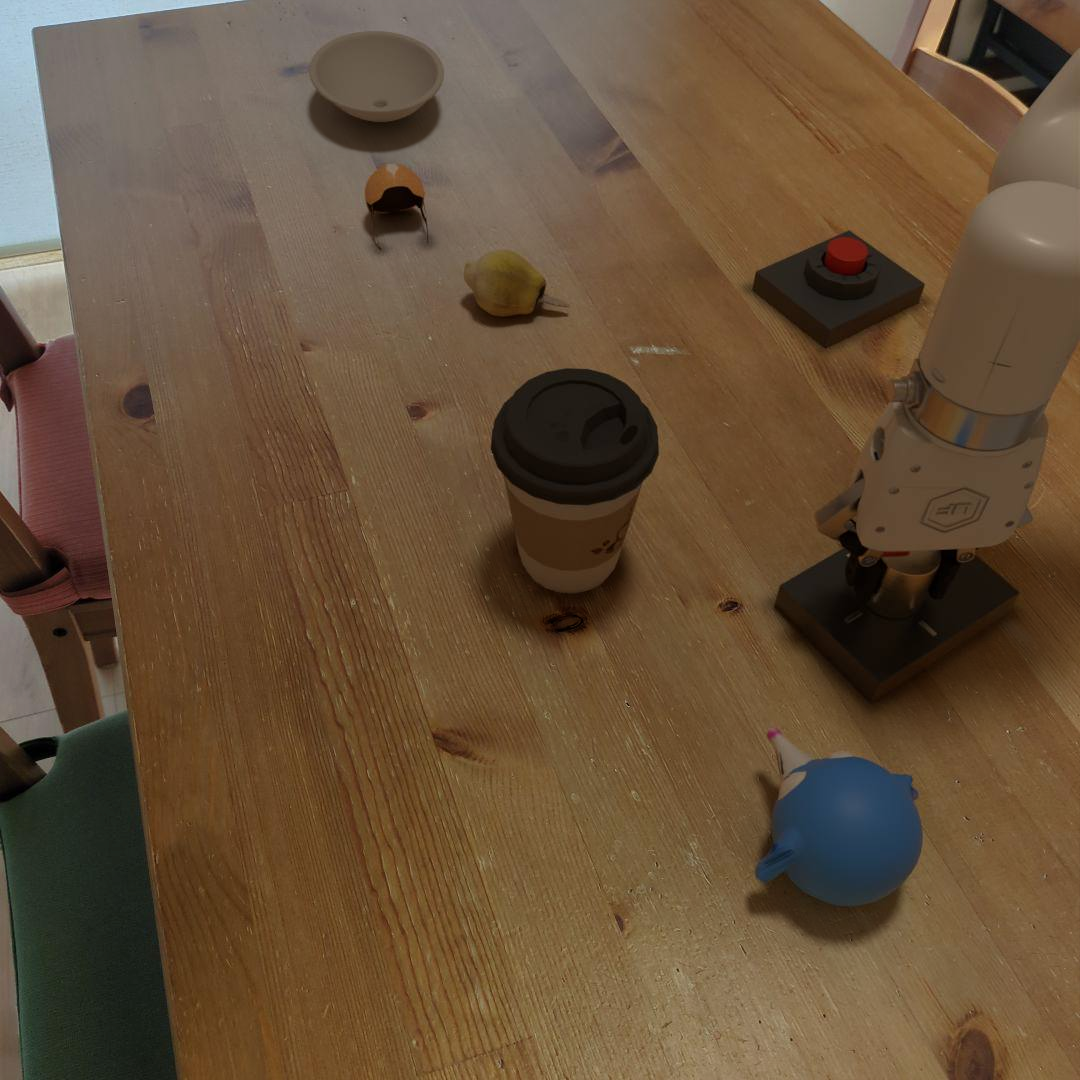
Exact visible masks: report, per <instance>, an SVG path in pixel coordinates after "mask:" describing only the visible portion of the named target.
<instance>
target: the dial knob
mask: <svg viewBox="0 0 1080 1080" xmlns="http://www.w3.org/2000/svg"><path fill="white" fill-rule="evenodd" d="M941 560H942V553H941V550H923V551H885V553H884V554H883V555H882V557H881V558H880V562H881V565H882V572H881V575H880V577H879V580H878V582H877V584H876V587H875V589H874V592H873V594H872V597H871V599H870V600H868V602H867V603H865V605H866V606H867V607H868V608H869V609H870V610H872V611H873V612H875V613H876V614H878V615H881V616H883V617H886V618H891V619H902V618H907V617H909V616H911V615H913V614H914V613H916V612H917V611H918V609H919V608H920V606H921V604H922V602H923V600H924V598H925V595H926V593H927V591H928V589H929V587H930V585H931V583H932V581H933V578H934V576H935V574H936V572H937V570H938V568H939V566H940V563H941Z"/></svg>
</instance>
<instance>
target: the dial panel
mask: <svg viewBox="0 0 1080 1080" xmlns="http://www.w3.org/2000/svg"><path fill="white" fill-rule="evenodd" d="M849 556H850V552H849V551H848V550H847V549H845V548H844V547H843V548H840V549H839V550H838V551H836V552H834V553H833V554H831V555H829V556H827V557H825V558H824V559H822V560H821V561H819V562H817V563H816V564H814V565H812V566H810V567H808V568H807V569H805V570H803V571H802V572H800V573H798V574H796V575H795V576H793V577H791V578H789V579H788V580H786V581H784V582H783V583H781V584H780V585H779V588H778V591H777V595H776V598H775V600H774V606H775V608H776V609H778V610H779V611H780V612H781V614H783V615H784V616H785V618H787V619H788V621H789V622H790V623H791V624H792V625H794V627H795V628H797V630H798V631H800V632H801V634H802V635H803V636H804V637H805V638H806V639H807V640H808V641H809V642H810V643H811V644H812V645H813V646H814V647H815V648H816V649H817V650H818V651H819V652H820V653H821V654H822V655H823V656H824V657H825V658H826V659H827V660H828V661H829V662H830V663H831V664H832V665H833V666H834V667H835V668H836V669H837V670H838V671H839V672H840V673H841V674H842V675H843V677H845V678H846V679H847V681H849V682H850V683H851V684H852V685H853V686H854V687H855V688H856V689H857V690H858V691H859V692H860V693H861V694H862V695H863V697H865V698H866V699H867V700H868V701H869V702H870V703H873V702H875V701H876V700H878V699H880V698H881V697H882V696H884V695H885V694H887V693H888V692H890V691H891V690H893V689H895V688H896V687H897V686H899V685H900V684H902V683H903V682H906V681H907V680H908V679H909V678H911V677H913V676H914V675H916V674H918V672H920V671H922V670H923V669H925V668H926V667H928V666H929V665H931V664H933V663H934V662H935V661H937V660H938V659H940V658H942V657H943V656H944V655H946V654H948V653H949V652H950V651H952V650H954V649H956V647H958V646H959V645H962V643H964V642H965V641H967V640H968V639H970V638H972V637H973V636H975V635H976V634H977V633H979V632H981V631H982V630H983V629H985V628H987V627H988V626H990V625H992V624H993V623H994V622H996V621H997V620H998V619H1000V618H1002V617H1003V616H1005V615H1006V614H1008V613H1009V612H1010V610H1011V608H1012V607H1013V605H1014V603H1015V602H1016V600H1017V598H1018V597H1019V595H1020V591H1019V589H1017V588H1016V587H1014V585H1012V584H1011V583H1010V582H1009V581H1008V580H1007V579H1005V578H1004V577H1003V576H1002V575H1001V574H999V573H998V572H997V571H996V570H994V569H993V568H992V567H991V566H990V565H989V564H988V563H987V562H985V561H984V560H983V559H982V558H981V557H979V556H978V555H977V554H976V553H975V557H974V558H973V559H972V560H971V561H968V562H965V563H961V565H960V567H959V569H958V571H957V573H956V575H955V577H954V579H953V581H951V582H950V584H949V586H948V588H947V590H946V592H945V594H944V596H943V598H942V599H933V598H931V597H930V595H929V592H928V591H927V593H926V595H925V598H924V600H923V602H922V604H921V606H920V608H919V609H918V611H917V612H916V613H914V614H913V615H911V616H909V617H907V618H902V619H891V618H886V617H883V616H881V615H878V614H876V613H875V612H873V611H872V610H870V609H869V608H868V607H867V606H866V605H865V603H859V602H858V599H857V596H856V593H855V589H854V586H849V585H848V583H847V580H846V577H845V567H846V564H847V561H848V558H849Z"/></svg>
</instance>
